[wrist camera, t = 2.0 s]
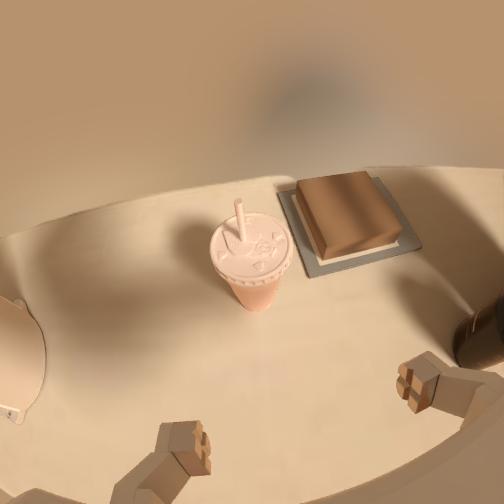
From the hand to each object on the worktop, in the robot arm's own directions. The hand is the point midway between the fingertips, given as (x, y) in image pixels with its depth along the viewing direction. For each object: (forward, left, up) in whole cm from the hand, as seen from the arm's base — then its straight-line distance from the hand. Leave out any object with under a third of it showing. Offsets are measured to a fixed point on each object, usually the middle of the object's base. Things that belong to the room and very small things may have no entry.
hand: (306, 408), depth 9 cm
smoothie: (0, +12, -16) cm, 20 cm away
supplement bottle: (+23, -2, -16) cm, 28 cm away
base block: (+13, +19, -15) cm, 28 cm away
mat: (+14, +19, -16) cm, 28 cm away
